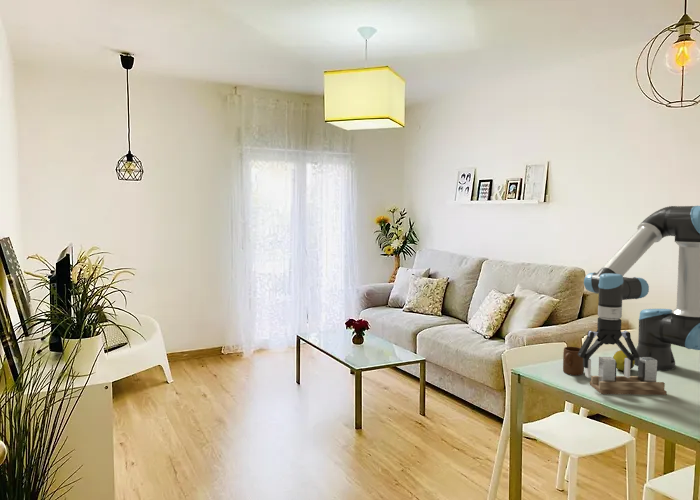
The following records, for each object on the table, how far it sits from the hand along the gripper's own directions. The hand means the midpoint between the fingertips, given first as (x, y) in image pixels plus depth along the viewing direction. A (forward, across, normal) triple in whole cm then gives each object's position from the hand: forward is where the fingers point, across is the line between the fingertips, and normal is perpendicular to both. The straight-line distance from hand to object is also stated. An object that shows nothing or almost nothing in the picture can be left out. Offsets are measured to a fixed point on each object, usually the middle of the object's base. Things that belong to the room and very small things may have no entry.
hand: (607, 377), depth 186 cm
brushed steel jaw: (+3, 0, 0) cm, 3 cm away
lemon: (+5, +16, +22) cm, 28 cm away
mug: (+5, -6, +17) cm, 19 cm away
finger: (+3, +14, 0) cm, 14 cm away
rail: (+4, +7, 0) cm, 8 cm away
